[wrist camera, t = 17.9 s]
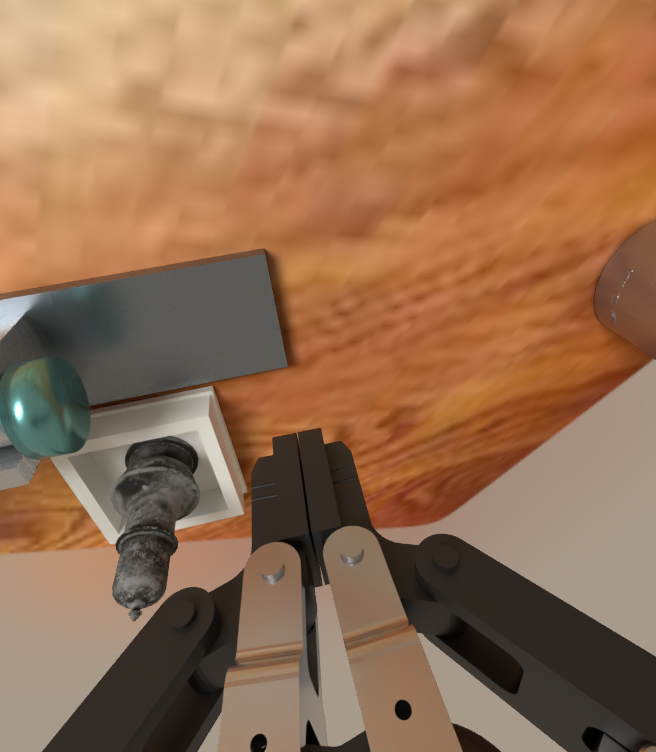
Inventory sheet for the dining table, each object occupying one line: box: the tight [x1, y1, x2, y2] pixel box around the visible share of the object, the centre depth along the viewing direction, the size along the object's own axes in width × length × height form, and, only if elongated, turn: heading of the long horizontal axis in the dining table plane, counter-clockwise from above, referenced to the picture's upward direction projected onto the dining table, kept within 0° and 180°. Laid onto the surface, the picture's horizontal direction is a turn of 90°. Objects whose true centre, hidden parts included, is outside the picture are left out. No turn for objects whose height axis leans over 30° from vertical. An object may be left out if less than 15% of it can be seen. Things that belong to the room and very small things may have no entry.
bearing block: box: [0, 249, 288, 490], centre depth 24 cm, size 22×8×8 cm, turn 97°
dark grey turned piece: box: [110, 436, 200, 621], centre depth 28 cm, size 6×6×12 cm
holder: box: [50, 386, 247, 545], centre depth 32 cm, size 11×11×3 cm
